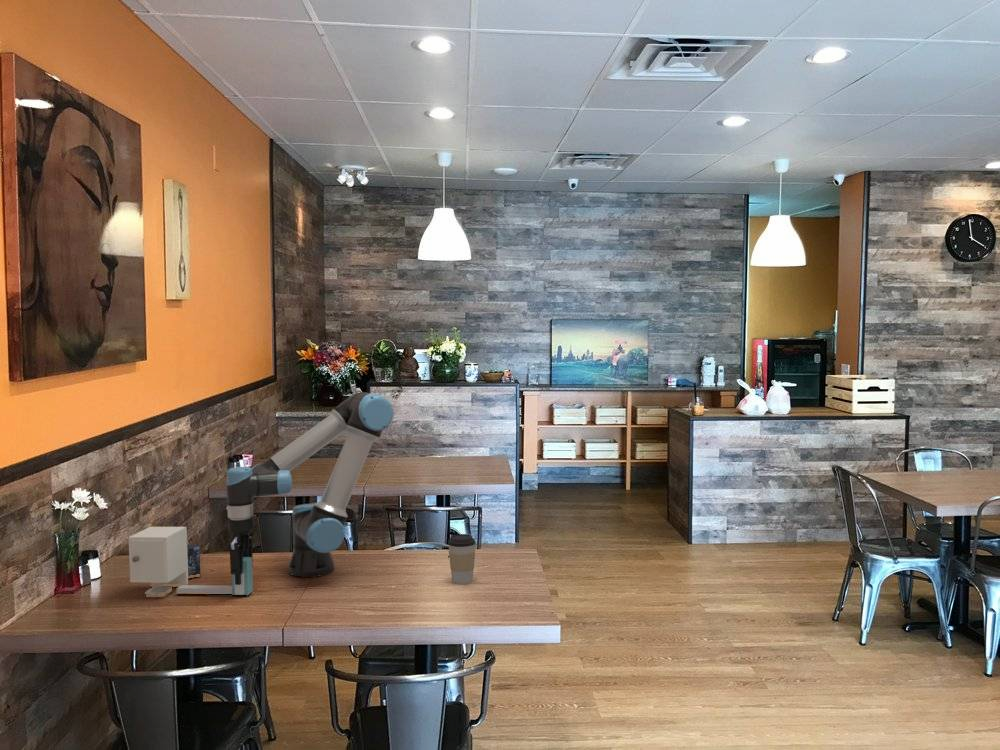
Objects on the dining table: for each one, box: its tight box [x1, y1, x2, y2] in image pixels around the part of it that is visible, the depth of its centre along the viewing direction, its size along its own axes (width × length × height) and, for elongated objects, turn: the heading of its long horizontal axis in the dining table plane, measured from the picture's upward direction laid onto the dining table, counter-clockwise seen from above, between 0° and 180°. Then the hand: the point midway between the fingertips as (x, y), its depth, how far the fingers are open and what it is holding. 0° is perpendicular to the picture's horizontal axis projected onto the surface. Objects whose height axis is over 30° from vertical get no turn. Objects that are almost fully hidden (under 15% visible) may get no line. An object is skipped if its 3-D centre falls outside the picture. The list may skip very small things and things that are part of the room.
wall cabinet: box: [128, 526, 189, 585], centre depth 245 cm, size 12×14×20 cm
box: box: [187, 543, 201, 576], centre depth 261 cm, size 8×6×11 cm
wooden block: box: [144, 586, 172, 595], centre depth 245 cm, size 6×6×2 cm
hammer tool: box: [175, 557, 254, 597], centre depth 244 cm, size 23×4×11 cm, turn 86°
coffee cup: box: [447, 533, 477, 585], centre depth 254 cm, size 9×9×15 cm
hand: (242, 591), depth 243 cm, fingers closed on hammer tool, 4 cm apart
